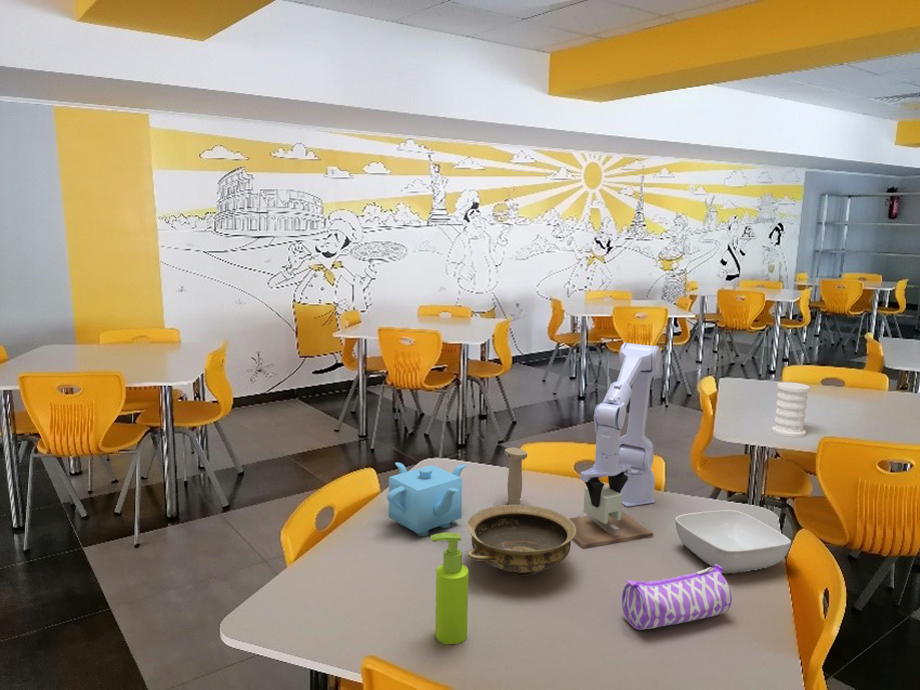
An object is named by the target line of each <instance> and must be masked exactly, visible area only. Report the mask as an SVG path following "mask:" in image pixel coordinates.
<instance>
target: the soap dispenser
mask: <svg viewBox="0 0 920 690" xmlns="http://www.w3.org/2000/svg"><path fill="white" fill-rule="evenodd" d="M430 541H432V542H433V543H435V542H440V541H441V542H443V541H447V545H448V546H447V548H446V549H445V550H444V551H443V553H442V554H443V555H442V556H443V557H442V558H443V559H442V564H439V566H437V568H436V570H435V572H436V573H435V629H434V630H435V632H434V635H435V636H436V637H435V639H436V638H437V639H438V640H439V641H440V643H441V642H442V643H441V644H444V645H448V644H455V645H459V644H461V642H462V643H463V642H464V641H466V639H467V637H468V634H467V633H468V611H469V610H468V605H469V604H468V602H469V601H468V599H469V568H468V567H467V566H466V565H464V564H463V552H462V550H461V549H459V548H458V543H459V542H461V541H462V537H461V533H459V532H439V533H434V534H431V535H430ZM437 639H436V640H437ZM438 640H437V641H438ZM439 641H438V642H439ZM458 643H459V644H458Z"/></svg>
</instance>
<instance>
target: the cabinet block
mask: <svg viewBox="0 0 920 690" xmlns="http://www.w3.org/2000/svg"><path fill="white" fill-rule="evenodd" d="M583 496H584V497H583V498H584V499H583V500H584V502H583V513H585V514H587V516H588V515H590V516H592V517H593V518H595V519H597V520H599V521H600V522H602V523H604V524H606V523H608V516H610V517H612V518H614V519H616V520H621V511H622V509H623V508H622V507H623V504H622V494H620V493H618V492H616V491H614V490H612V489H610V488H609V487H608V486H606V485H604V486H603V488H602V492H601V496H600V504H599V507H597V508H596V507H595V506H593V505H592V504H591V499H590V495H589V491H588V488H587V486H586V487H584V495H583Z"/></svg>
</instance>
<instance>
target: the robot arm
mask: <svg viewBox="0 0 920 690" xmlns="http://www.w3.org/2000/svg"><path fill="white" fill-rule="evenodd" d="M618 353H619V355H618V358H619V363H620V367H621V368H620V371H619V374H618V377H617V380H616V381H614V382H612V383H610V384H609V388H608V390H607V392H606V394H605V396H604V398H603V401H602V402H600V404H597V405H596V406H595V408H594V412H593V413H594V414H593V424H594V433H595V434H596V435H595V436H596V438H595V453H594V454H595V456H594V464H593V465H592V467H590V468H588V469H587V470H584V471H581V472H580V477H579V478H580V479H579V480H581V481H583V482H584V484H585V486H586V487H587V488H588V491H589V495H590V499H591V504H592V505H593V506H595V507H596V508H597V507H599V504H600V496H601V492H602V488H603V486H605V483H603V482H602V481H601V480H600V478H605V477H607V479H608V486H609V487H608V488H610V489H612V490H614V491H616V492H618V493H620V494H622V506H623V505H624V506H625V507H627V508H629V507H634V506H640V505H641V506H642V505H648V504H654V503H656V500H655V499H654V498H655V497H654V496H655V484H656V479H655V475H654V474H655V473H654V471H653V470H652V467H653V465H654V457H655V455H654V454H655V453H654V444H653V442H652V441H651V440H650V439H649V438H648V437H647V436H646V435H645V431H646V424H647V415H648V406H649V399H650V389H651V383H652V380H653V377H656V376H658V375H659V372H660V369H661V367H660V366H661V359H662V351H661V348H660V346H659V345H648V344H639V343H631V342H623V344H622V345H620V347H619V352H618ZM628 404H629V411H628V412H629V413H628V420H627V429H626V434H624V435H622V436H621V430H622V428H623V427H624V424H625V421H626V416H627V406H628Z"/></svg>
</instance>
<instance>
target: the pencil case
mask: <svg viewBox="0 0 920 690" xmlns="http://www.w3.org/2000/svg"><path fill="white" fill-rule="evenodd" d="M722 572H723V569H722V567H720V566H719V565H716V564H715V565H714V568H713V567H711V566H709V567H707V568H706V569H703V570H699V571H696V572H693V573H692V572H691V573H689V574H688V573H687V574H685V575H684V574H682V575H679V576H676V577H671V578H666V579H665V578H664V579H658V580H649V581H639V580H638V581H637V580H629V579H625V582H627V583H626V584H625V586H623V587H624V588H623V590H622V595H621V604H622V605H621V606H622V607H621V608H622V612H623V615H624V617H625V619H626V621H627V622H628V623H629V625H630V626H631V627H633V628H634V629H636V630H638V631H641V630H650V629H656V628H660V627H666V626H671V625H677V624H682V623H683V624H684V623H688V622H693V621H698V620H702V619H706V618H711V617H715V616H719V615H722V614H724V613H727V612H729V609H730V608H731V606H732V601H733V597H732V592H731V588H730V586H729V583H728V581H727V579H726V578H725V576H724V575H723V573H722Z"/></svg>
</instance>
